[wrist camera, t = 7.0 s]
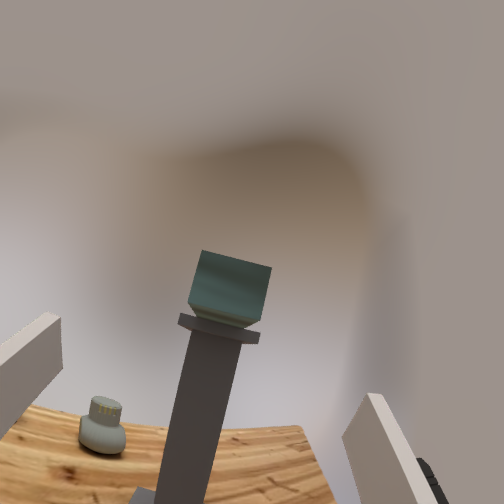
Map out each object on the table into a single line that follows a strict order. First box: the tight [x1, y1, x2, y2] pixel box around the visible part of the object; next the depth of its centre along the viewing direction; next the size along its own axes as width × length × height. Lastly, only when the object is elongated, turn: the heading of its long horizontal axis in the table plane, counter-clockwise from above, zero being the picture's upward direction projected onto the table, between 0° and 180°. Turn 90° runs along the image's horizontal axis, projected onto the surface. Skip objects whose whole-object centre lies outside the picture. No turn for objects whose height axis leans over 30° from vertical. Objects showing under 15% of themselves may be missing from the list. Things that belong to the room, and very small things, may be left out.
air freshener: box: [79, 396, 126, 454], centre depth 45 cm, size 11×8×10 cm
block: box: [188, 250, 272, 329], centre depth 29 cm, size 26×4×3 cm, turn 7°
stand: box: [129, 313, 260, 504], centre depth 28 cm, size 16×12×28 cm
